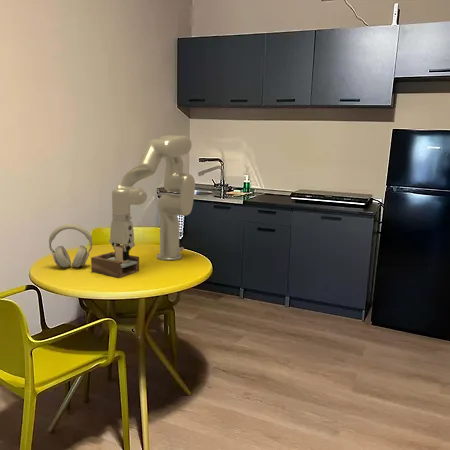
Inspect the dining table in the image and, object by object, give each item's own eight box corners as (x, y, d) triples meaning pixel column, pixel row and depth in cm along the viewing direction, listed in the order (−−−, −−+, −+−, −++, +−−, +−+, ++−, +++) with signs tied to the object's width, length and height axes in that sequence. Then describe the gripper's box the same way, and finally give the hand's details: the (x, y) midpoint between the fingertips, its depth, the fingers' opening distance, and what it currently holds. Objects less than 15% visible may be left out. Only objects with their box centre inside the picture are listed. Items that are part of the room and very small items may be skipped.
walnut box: (112, 265, 212) (112, 251, 211) (139, 271, 204) (139, 256, 203) (91, 272, 201) (91, 257, 200) (118, 278, 193) (118, 263, 192)
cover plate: (114, 258, 208) (114, 241, 207) (137, 263, 202) (137, 245, 200) (98, 263, 200) (97, 245, 199) (121, 268, 193) (121, 249, 192)
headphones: (93, 263, 214) (92, 221, 211) (91, 269, 204) (90, 225, 201) (52, 264, 211) (50, 222, 207) (48, 270, 201) (45, 226, 197)
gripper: (142, 218, 195) (142, 260, 198) (113, 214, 203) (114, 254, 207) (130, 221, 189) (130, 264, 192) (100, 216, 197) (101, 258, 200)
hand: (122, 258), depth 199 cm, fingers closed on cover plate, 4 cm apart
